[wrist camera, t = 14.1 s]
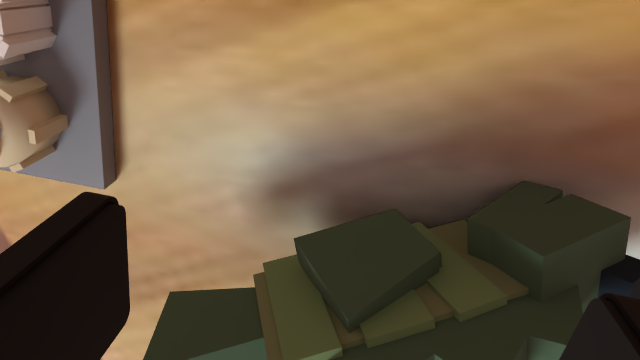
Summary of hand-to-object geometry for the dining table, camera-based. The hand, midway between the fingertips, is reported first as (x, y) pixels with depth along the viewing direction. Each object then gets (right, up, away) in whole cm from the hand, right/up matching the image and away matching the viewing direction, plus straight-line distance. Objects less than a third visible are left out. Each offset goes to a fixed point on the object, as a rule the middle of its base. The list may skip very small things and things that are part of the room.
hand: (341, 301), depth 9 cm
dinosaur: (+6, -3, +32) cm, 33 cm away
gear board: (-24, +13, +28) cm, 40 cm away
